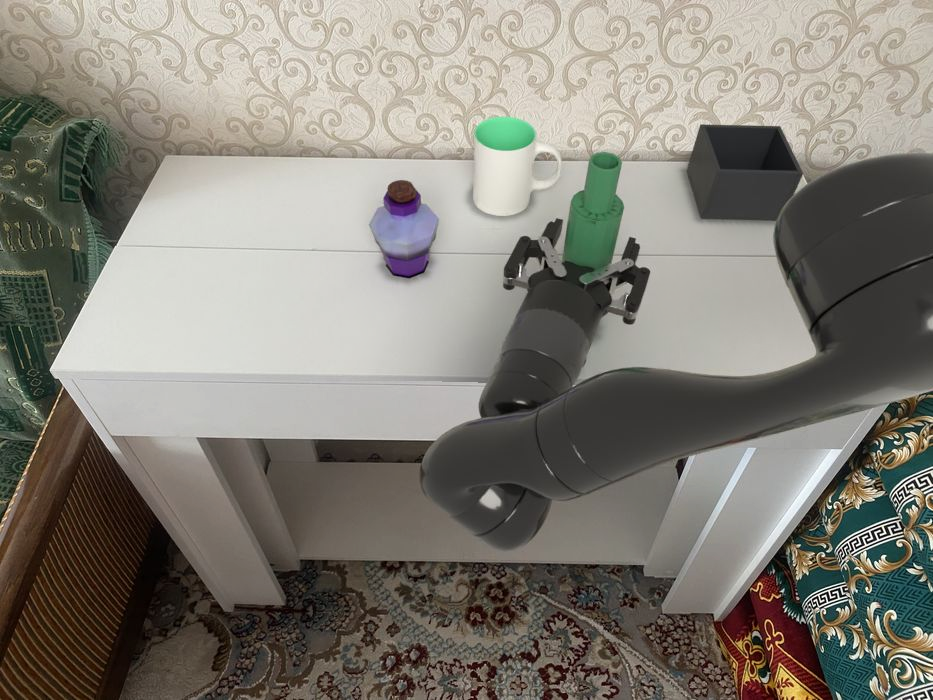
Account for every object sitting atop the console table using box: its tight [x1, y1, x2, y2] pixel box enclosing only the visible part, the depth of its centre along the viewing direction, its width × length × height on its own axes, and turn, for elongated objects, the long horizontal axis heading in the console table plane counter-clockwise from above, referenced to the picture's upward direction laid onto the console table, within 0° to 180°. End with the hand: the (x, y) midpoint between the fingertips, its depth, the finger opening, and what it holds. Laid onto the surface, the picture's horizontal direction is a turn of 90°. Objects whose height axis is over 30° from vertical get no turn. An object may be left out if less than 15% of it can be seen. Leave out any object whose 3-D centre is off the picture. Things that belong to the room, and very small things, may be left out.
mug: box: [472, 116, 563, 217], centre depth 94 cm, size 12×8×10 cm, turn 91°
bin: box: [686, 123, 804, 222], centre depth 95 cm, size 11×11×8 cm
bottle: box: [561, 151, 625, 271], centre depth 73 cm, size 5×5×23 cm
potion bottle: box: [368, 179, 440, 280], centre depth 84 cm, size 9×9×12 cm
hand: (594, 234), depth 73 cm, fingers open, 7 cm apart
